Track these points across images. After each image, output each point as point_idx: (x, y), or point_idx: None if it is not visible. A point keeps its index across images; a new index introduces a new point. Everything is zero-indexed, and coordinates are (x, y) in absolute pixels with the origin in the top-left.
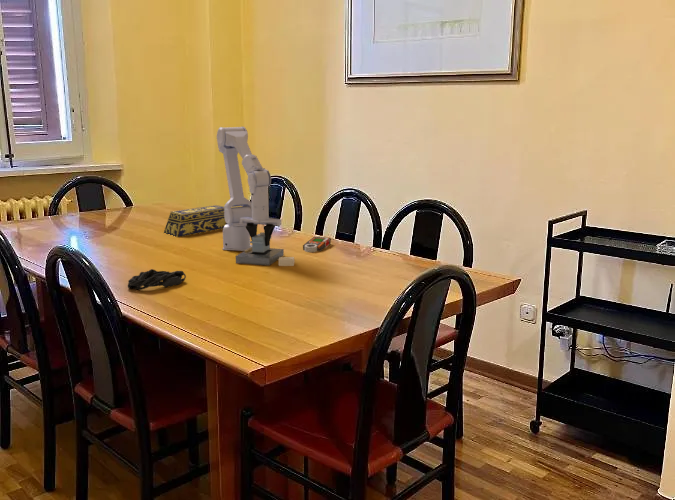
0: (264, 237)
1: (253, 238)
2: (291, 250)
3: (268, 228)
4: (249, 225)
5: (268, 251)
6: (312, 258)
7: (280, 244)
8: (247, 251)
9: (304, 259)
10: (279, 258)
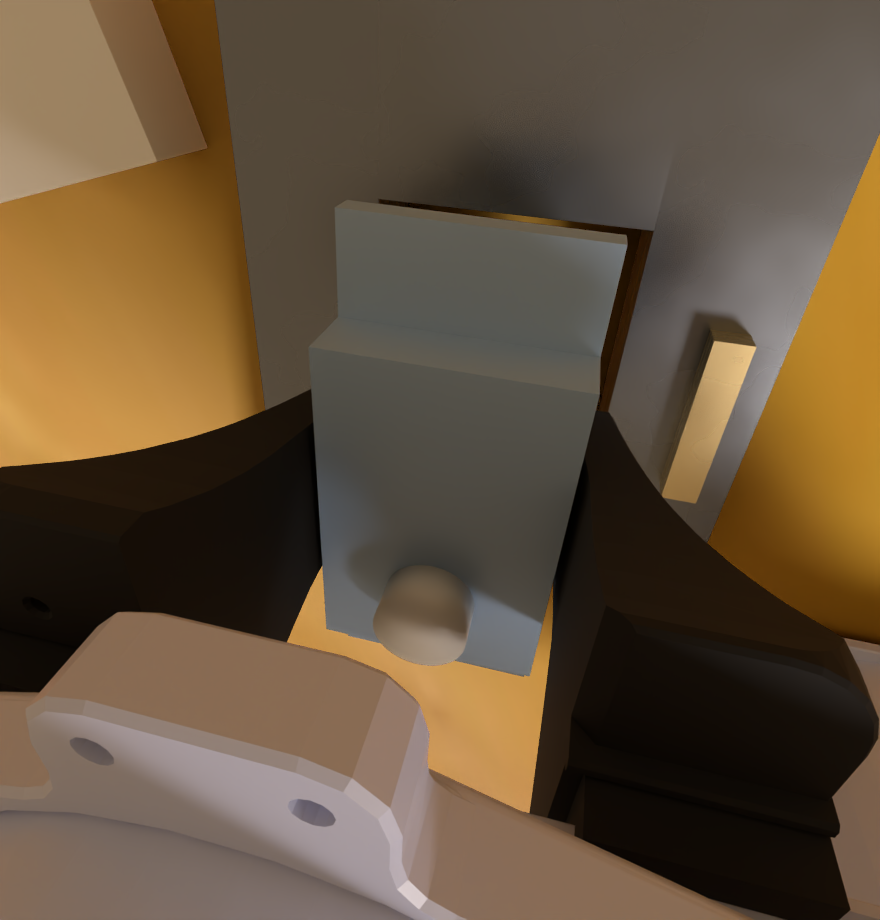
0: (317, 428)
1: (560, 378)
2: (323, 636)
3: (3, 480)
4: (720, 777)
5: None
6: (25, 404)
7: (473, 778)
8: (706, 350)
9: (62, 361)
10: (106, 60)
